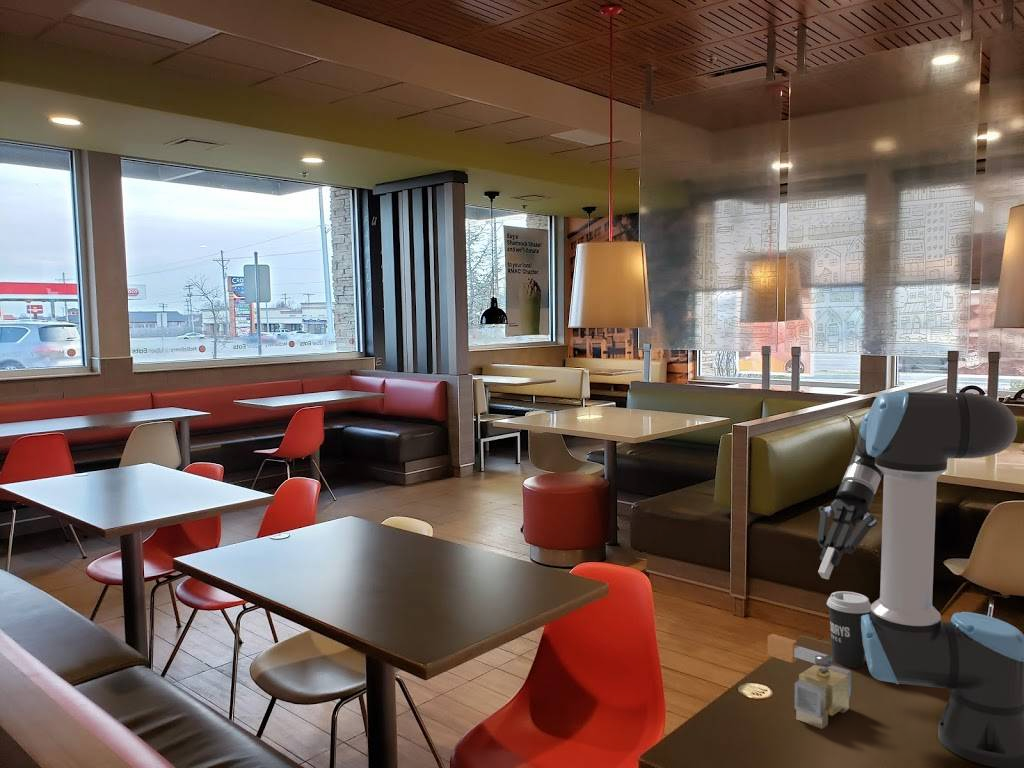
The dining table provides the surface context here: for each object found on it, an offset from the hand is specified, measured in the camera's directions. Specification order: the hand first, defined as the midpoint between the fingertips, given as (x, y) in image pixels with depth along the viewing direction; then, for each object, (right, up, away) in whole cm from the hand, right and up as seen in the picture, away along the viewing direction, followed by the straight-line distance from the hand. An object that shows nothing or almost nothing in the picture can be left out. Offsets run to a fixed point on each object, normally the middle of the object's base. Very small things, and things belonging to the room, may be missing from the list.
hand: (823, 575), depth 170 cm
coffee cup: (+9, -22, +8) cm, 25 cm away
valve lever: (-10, -14, -14) cm, 22 cm away
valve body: (-7, -23, -17) cm, 29 cm away
